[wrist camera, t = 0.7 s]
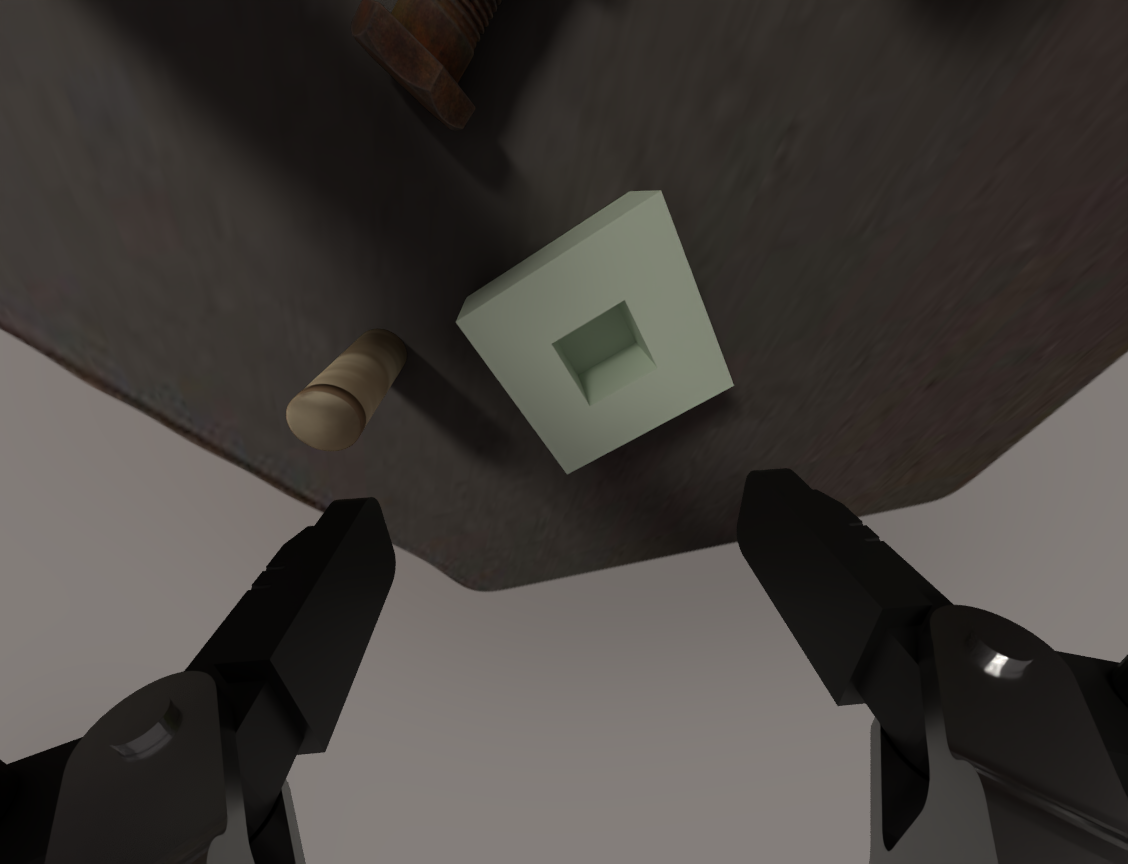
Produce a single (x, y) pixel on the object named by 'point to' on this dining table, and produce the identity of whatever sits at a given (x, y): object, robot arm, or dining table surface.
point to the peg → (347, 392)
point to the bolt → (426, 48)
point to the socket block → (600, 332)
